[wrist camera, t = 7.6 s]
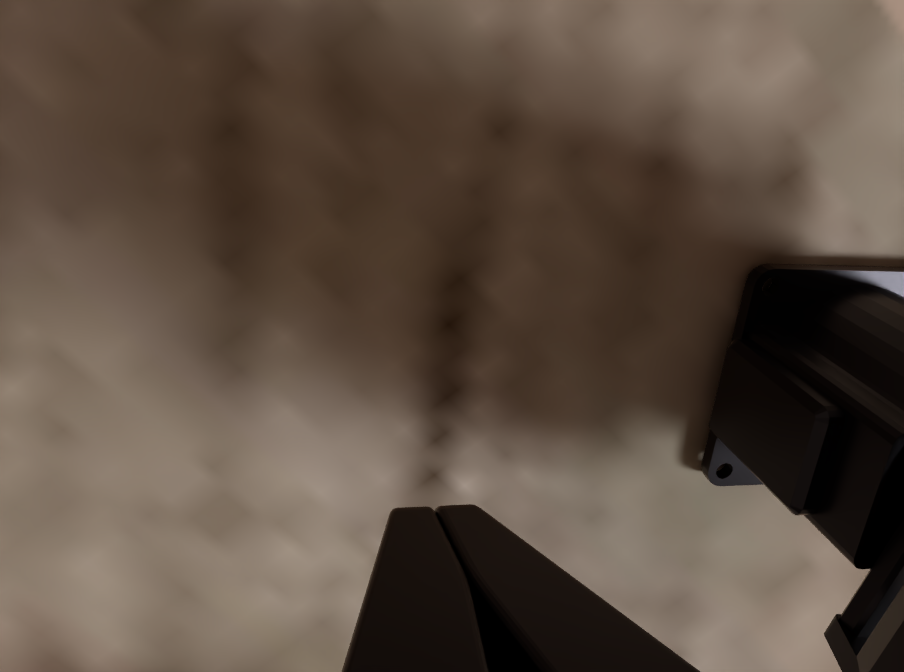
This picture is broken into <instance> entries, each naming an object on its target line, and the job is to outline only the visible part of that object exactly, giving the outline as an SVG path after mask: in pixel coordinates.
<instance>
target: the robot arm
mask: <svg viewBox="0 0 904 672" xmlns="http://www.w3.org/2000/svg"><path fill="white" fill-rule="evenodd" d="M770 278H772V283H771V285H770V287H769V288H767V289H766V290H764V291H762V287H763V285H764V283H765V282H766V281H767V280H768V279H770ZM709 428H710V432H709V436H708V440H707V444H706V448H705V452H704V456H703V460H702V468H701V470H702V472H703V474H704V475H705V476H706V478H707V479H708V480H709V481H710V482H711V483H712V484H714V485H717V486H734V485H758V484H764V485H765V486H766V487H767V488H768V489H769V490H770V491H771V492H772V493H773V494H774V495H775V496H776V497H777V498H778V499H779V500H780V501H781V502H782V503H783V504H784V505H785V506H786V508H787V509H788V510H789V511H790V512H791V513H793V514H795V515H804V516H805V517H806V518H807V519H808V520H809V521H810V522H811V523H812V524H813V525H814V526H815V527H816V528H817V529H818V530H819V531H820V532H821V533H822V534H823V535H824V536H825V537H826V538H827V539H828V540H829V541H830V542H831V543H832V544H833V545H834V546H835V547H836V548H837V549H838V550H839V551H840V552H841V553H842V554H843V555H844V556H845V557H846V558H847V559H848V560H849V561H850V562H851V563H852V564H853V565H854V566H855V567H856V568H859V569H870V571H869V573H868V574H867V576H866V577H865V579H864V580H863V582H862V583H861V585H860V587H859V588H858V590H857V591H856V593H855V594H854V596H853V597H852V599H851V601H850V602H849V604H848V605H847V607H846V608H845V610H844V611H843V613H842V615H841V614H836V615H835V617H834V618H833V620H832V622H831V623H830V625H829V626H828V628H827V629H826V631H825V633H824V635H825V638H826V640H827V642H828V644H829V646H830V648H831V650H832V652H833V654H834V656H835V658H836V660H837V662H838V664H839V666H840V668H841V670H842V672H904V267H869V266H832V265H796V264H763V265H760V266H758V267H756V268H755V269H753V271H752V272H751V273H750V274H749V275H748V278H747V280H746V283H745V287H744V291H743V295H742V300H741V304H740V308H739V312H738V316H737V320H736V324H735V328H734V333H733V337H732V341H731V344H730V345H729V347H728V348H727V352H726V356H725V360H724V364H723V368H722V373H721V377H720V381H719V385H718V389H717V393H716V397H715V402H714V406H713V410H712V414H711V418H710V422H709ZM722 464H725V465H724V467H723V468H722V469H721V470H718V471H717V469H718V467H719V466H720V465H722ZM342 672H700V671H699V670H697V669H696V668H695V667H693V666H692V665H691V664H689V663H688V662H686V661H685V660H684V659H682V658H681V657H680V656H678V655H677V654H676V653H674V652H673V651H672V650H670V649H669V648H668V647H666V646H665V645H664V644H662V643H661V642H660V641H658V640H657V639H656V638H654V637H653V636H652V635H650V634H649V633H648V632H646V631H645V630H643V629H642V628H641V627H639V626H638V625H637V624H635V623H634V622H633V621H631V620H630V619H629V618H627V617H626V616H625V615H623V614H622V613H621V612H619V611H618V610H617V609H615V608H614V607H613V606H611V605H610V604H609V603H607V602H606V601H605V600H603V599H602V598H600V597H599V596H598V595H596V594H595V593H594V592H592V591H591V590H590V589H588V588H587V587H586V586H584V585H583V584H582V583H580V582H579V581H578V580H576V579H575V578H574V577H572V576H571V575H570V574H568V573H567V572H566V571H564V570H563V569H562V568H560V567H559V566H557V565H556V564H555V563H553V562H552V561H551V560H549V559H548V558H547V557H545V556H544V555H543V554H541V553H540V552H539V551H537V550H536V549H535V548H533V547H532V546H531V545H529V544H528V543H527V542H525V541H524V540H523V539H521V538H520V537H519V536H517V535H516V534H514V533H513V532H512V531H510V530H509V529H508V528H506V527H505V526H504V525H502V524H501V523H500V522H498V521H497V520H496V519H494V518H493V517H492V516H490V515H489V514H488V513H486V512H485V511H484V510H482V509H481V508H479V507H478V506H476V505H471V504H469V505H449V506H439V507H437V508H436V509H435V511H434V510H433V509H432V508H430V507H405V508H395V509H393V510H392V511H391V512H390V515H389V518H388V521H387V524H386V528H385V531H384V534H383V538H382V541H381V544H380V548H379V551H378V554H377V557H376V561H375V564H374V567H373V571H372V574H371V577H370V580H369V584H368V587H367V590H366V594H365V597H364V600H363V603H362V607H361V610H360V613H359V617H358V620H357V623H356V626H355V630H354V633H353V636H352V640H351V643H350V646H349V649H348V653H347V656H346V659H345V663H344V666H343V669H342Z"/></svg>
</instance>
